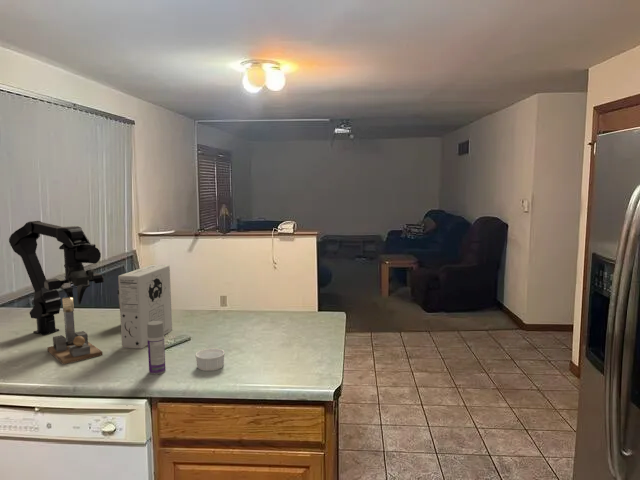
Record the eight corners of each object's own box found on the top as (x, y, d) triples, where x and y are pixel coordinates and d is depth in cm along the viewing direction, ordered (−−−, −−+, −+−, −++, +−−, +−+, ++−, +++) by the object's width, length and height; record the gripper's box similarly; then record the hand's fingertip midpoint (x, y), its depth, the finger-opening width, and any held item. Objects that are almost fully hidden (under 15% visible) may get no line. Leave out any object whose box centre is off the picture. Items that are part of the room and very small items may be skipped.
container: (151, 368, 156) (148, 320, 154) (167, 368, 156) (164, 320, 155) (147, 374, 151) (144, 325, 150) (163, 374, 152) (161, 324, 150)
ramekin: (226, 370, 155) (226, 356, 154) (196, 373, 153) (196, 359, 152) (223, 360, 163) (223, 346, 163) (194, 363, 161) (194, 349, 160)
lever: (63, 345, 173) (60, 298, 171) (75, 342, 175) (71, 296, 173) (66, 347, 171) (63, 299, 168) (78, 345, 173) (75, 298, 171)
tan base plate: (47, 350, 173) (46, 330, 172) (84, 342, 181) (83, 323, 180) (63, 364, 160) (61, 342, 159) (102, 355, 168) (101, 334, 167)
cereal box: (154, 329, 197) (151, 264, 193) (172, 330, 195) (170, 265, 192) (121, 347, 176) (117, 275, 172) (141, 349, 174) (138, 276, 171)
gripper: (51, 268, 172) (54, 313, 174) (108, 261, 184) (110, 304, 186) (42, 264, 180) (45, 307, 182) (97, 258, 193) (99, 298, 195)
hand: (76, 304), depth 186 cm, fingers closed
